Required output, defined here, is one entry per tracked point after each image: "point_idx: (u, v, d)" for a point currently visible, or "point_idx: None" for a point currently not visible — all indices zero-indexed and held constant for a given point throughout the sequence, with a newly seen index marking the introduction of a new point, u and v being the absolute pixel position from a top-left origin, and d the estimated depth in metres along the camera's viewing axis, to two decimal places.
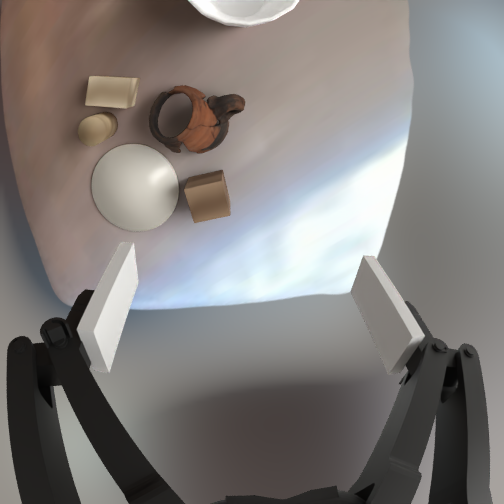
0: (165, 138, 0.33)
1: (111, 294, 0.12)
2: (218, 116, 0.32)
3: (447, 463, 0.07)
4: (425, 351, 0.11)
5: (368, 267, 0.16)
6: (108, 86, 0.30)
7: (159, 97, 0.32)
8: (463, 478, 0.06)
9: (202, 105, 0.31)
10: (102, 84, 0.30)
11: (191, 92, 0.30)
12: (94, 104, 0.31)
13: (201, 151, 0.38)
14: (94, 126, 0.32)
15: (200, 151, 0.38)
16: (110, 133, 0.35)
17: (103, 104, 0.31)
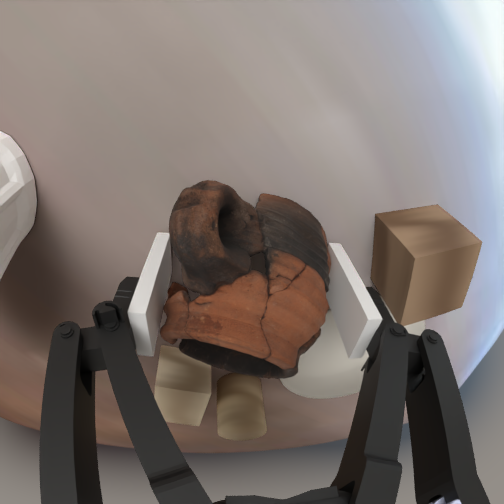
0: (282, 375, 0.15)
1: (156, 280, 0.13)
2: (239, 271, 0.12)
3: (427, 455, 0.08)
4: (383, 337, 0.11)
5: (332, 253, 0.17)
6: (170, 406, 0.20)
7: (190, 356, 0.17)
8: (447, 469, 0.06)
9: (204, 312, 0.12)
10: (166, 411, 0.21)
11: (170, 331, 0.13)
12: (199, 419, 0.22)
13: None
14: (234, 429, 0.21)
15: None
16: (253, 396, 0.23)
17: (200, 412, 0.21)
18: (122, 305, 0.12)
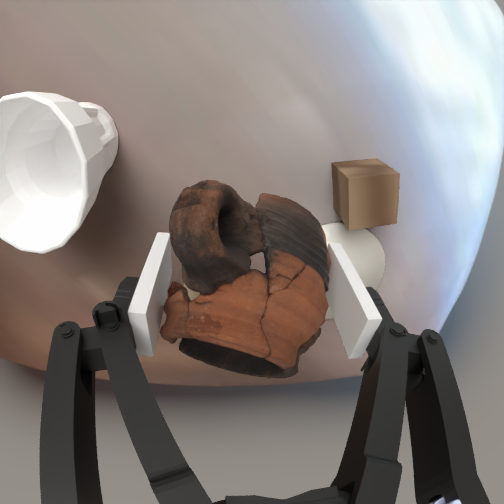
0: (282, 374, 0.15)
1: (156, 280, 0.13)
2: (239, 270, 0.12)
3: (427, 455, 0.08)
4: (383, 337, 0.11)
5: (332, 253, 0.17)
6: None
7: None
8: (447, 469, 0.06)
9: (204, 311, 0.12)
10: None
11: (170, 331, 0.13)
12: None
13: None
14: None
15: None
16: None
17: None
18: (122, 305, 0.12)
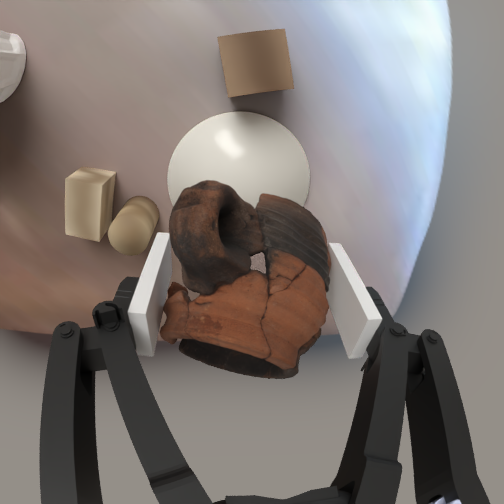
0: (282, 375, 0.15)
1: (156, 280, 0.13)
2: (239, 271, 0.12)
3: (427, 455, 0.08)
4: (383, 337, 0.11)
5: (332, 253, 0.17)
6: (75, 208, 0.25)
7: (190, 356, 0.17)
8: (447, 469, 0.06)
9: (204, 312, 0.12)
10: (73, 218, 0.25)
11: (170, 331, 0.13)
12: (97, 228, 0.26)
13: None
14: (120, 231, 0.25)
15: None
16: (142, 207, 0.27)
17: (97, 216, 0.26)
18: (122, 305, 0.12)
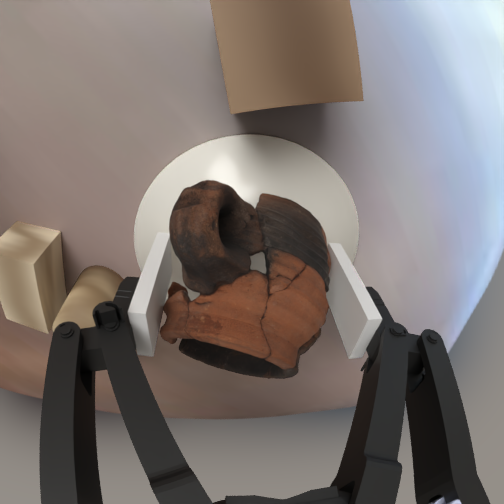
0: (282, 375, 0.15)
1: (156, 280, 0.13)
2: (239, 270, 0.12)
3: (427, 455, 0.08)
4: (383, 337, 0.11)
5: (332, 253, 0.17)
6: (9, 290, 0.14)
7: (190, 356, 0.17)
8: (447, 469, 0.06)
9: (204, 311, 0.12)
10: (9, 301, 0.15)
11: (170, 331, 0.13)
12: (42, 319, 0.16)
13: None
14: None
15: None
16: (100, 291, 0.17)
17: (38, 304, 0.15)
18: (122, 305, 0.12)
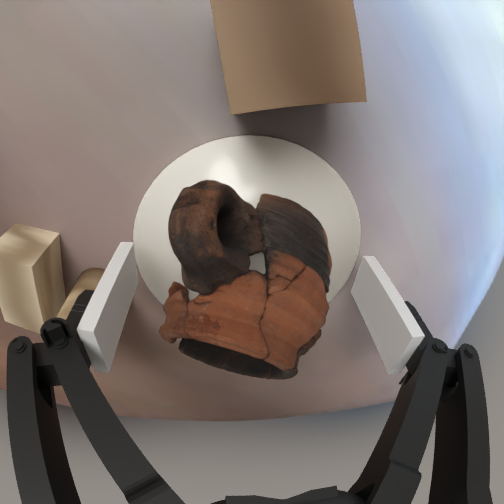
0: (282, 376, 0.15)
1: (111, 294, 0.12)
2: (238, 270, 0.12)
3: (447, 463, 0.07)
4: (425, 351, 0.11)
5: (368, 267, 0.16)
6: (7, 293, 0.14)
7: (190, 356, 0.17)
8: (463, 478, 0.06)
9: (203, 311, 0.12)
10: (8, 304, 0.15)
11: (169, 331, 0.13)
12: (41, 321, 0.16)
13: None
14: None
15: None
16: None
17: (36, 307, 0.15)
18: (76, 320, 0.11)
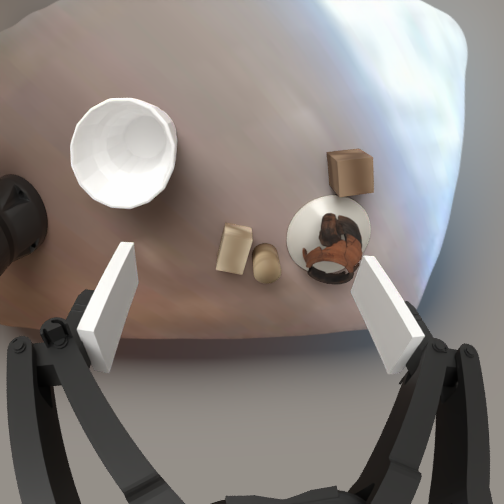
0: (347, 278, 0.43)
1: (111, 294, 0.12)
2: (339, 239, 0.40)
3: (447, 463, 0.07)
4: (425, 351, 0.11)
5: (368, 267, 0.16)
6: (229, 254, 0.43)
7: (311, 276, 0.45)
8: (463, 478, 0.06)
9: (327, 252, 0.41)
10: (225, 259, 0.44)
11: (315, 259, 0.42)
12: (243, 266, 0.45)
13: None
14: (263, 269, 0.44)
15: None
16: (273, 253, 0.45)
17: (244, 259, 0.44)
18: (76, 320, 0.11)
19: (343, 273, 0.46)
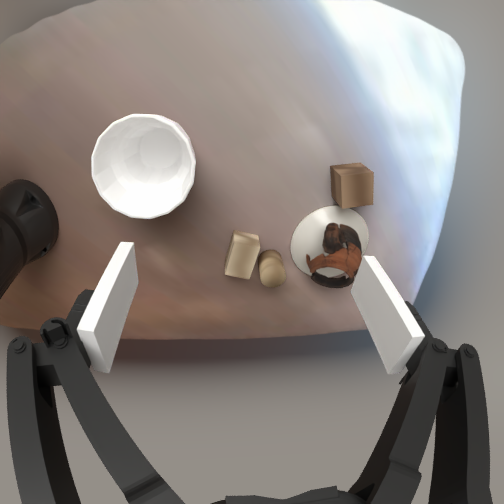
0: (348, 283, 0.47)
1: (111, 294, 0.12)
2: (341, 247, 0.44)
3: (447, 463, 0.07)
4: (425, 351, 0.11)
5: (368, 267, 0.16)
6: (237, 260, 0.46)
7: (314, 280, 0.49)
8: (463, 478, 0.06)
9: (330, 258, 0.44)
10: (234, 265, 0.47)
11: (319, 265, 0.45)
12: (250, 272, 0.48)
13: None
14: (269, 274, 0.47)
15: None
16: (278, 258, 0.48)
17: (252, 265, 0.47)
18: (76, 320, 0.11)
19: (343, 278, 0.50)
